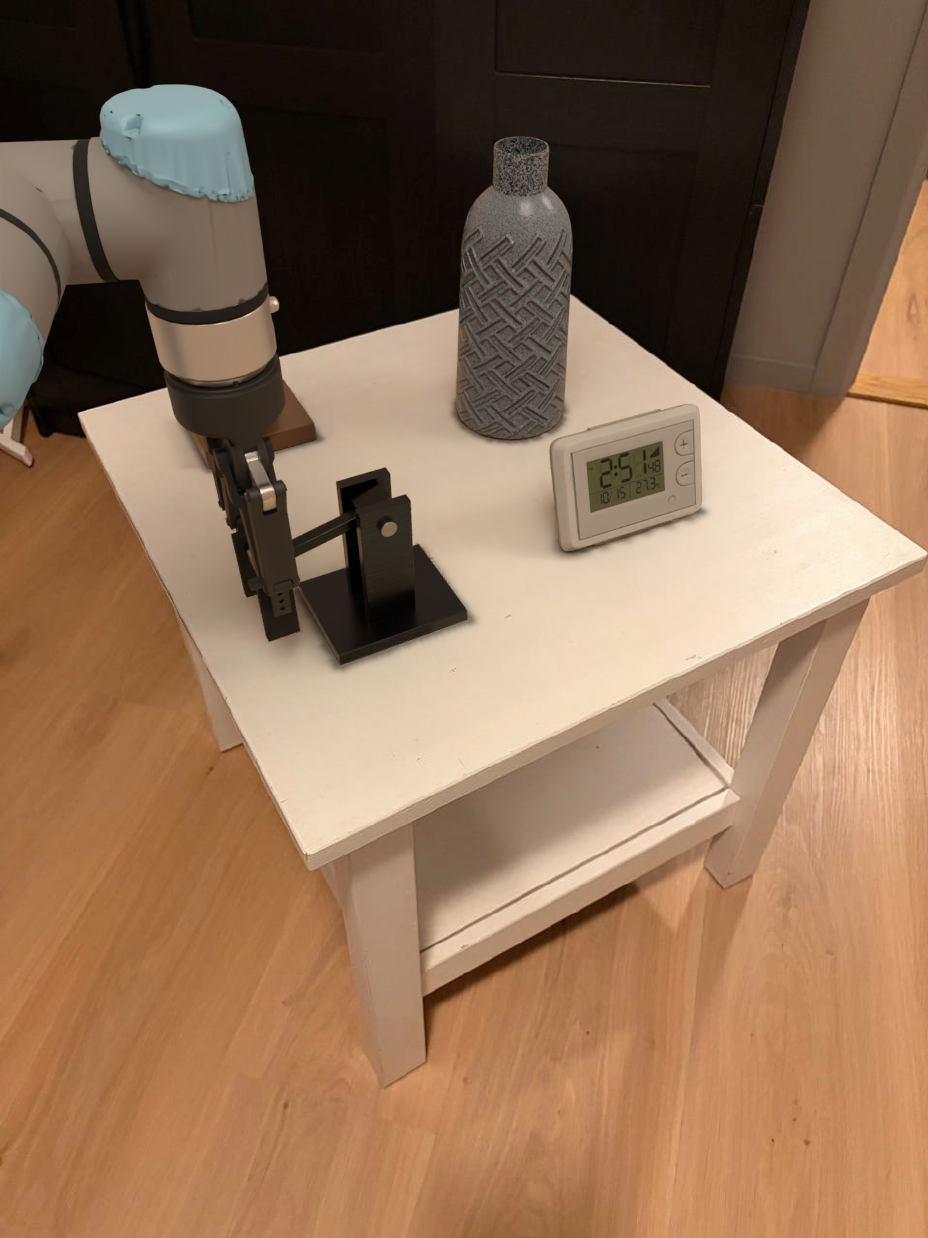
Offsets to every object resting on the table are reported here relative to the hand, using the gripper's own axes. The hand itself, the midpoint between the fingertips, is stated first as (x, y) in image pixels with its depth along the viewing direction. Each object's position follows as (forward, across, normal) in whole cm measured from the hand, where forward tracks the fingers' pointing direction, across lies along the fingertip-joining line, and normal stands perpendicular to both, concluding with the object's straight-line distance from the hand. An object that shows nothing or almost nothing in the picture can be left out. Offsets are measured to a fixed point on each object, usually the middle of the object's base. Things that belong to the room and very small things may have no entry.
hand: (271, 611), depth 77 cm
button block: (+4, +32, -8) cm, 33 cm away
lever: (-5, 0, -6) cm, 8 cm away
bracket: (+4, 0, -10) cm, 10 cm away
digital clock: (+4, 0, -36) cm, 36 cm away
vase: (+4, +22, -35) cm, 42 cm away
